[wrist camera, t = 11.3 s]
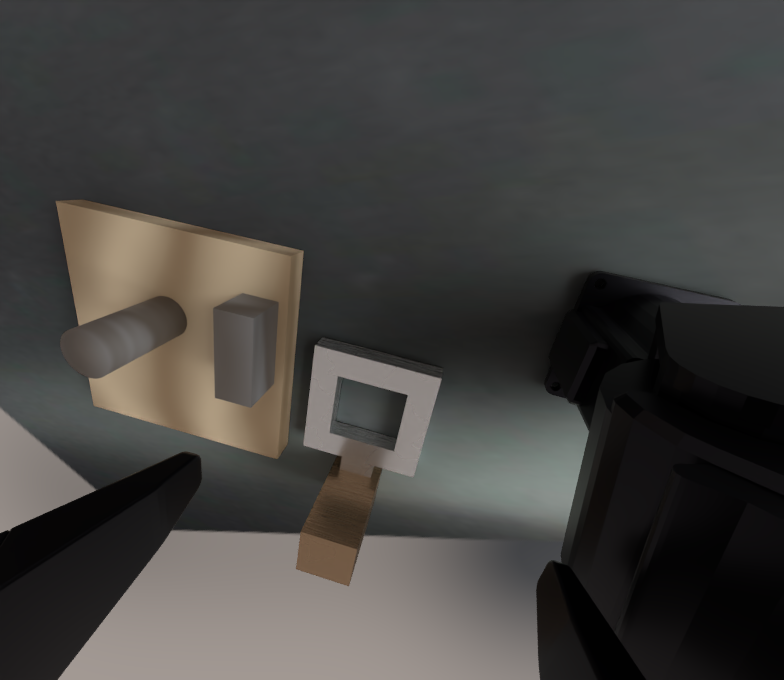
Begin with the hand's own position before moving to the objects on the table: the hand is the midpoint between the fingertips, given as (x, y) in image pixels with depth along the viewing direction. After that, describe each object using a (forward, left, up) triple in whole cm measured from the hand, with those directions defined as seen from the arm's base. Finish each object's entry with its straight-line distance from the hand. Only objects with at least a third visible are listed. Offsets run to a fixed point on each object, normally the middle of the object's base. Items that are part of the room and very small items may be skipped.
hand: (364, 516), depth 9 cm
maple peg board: (+13, +3, -12) cm, 18 cm away
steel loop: (+2, +7, -12) cm, 14 cm away
